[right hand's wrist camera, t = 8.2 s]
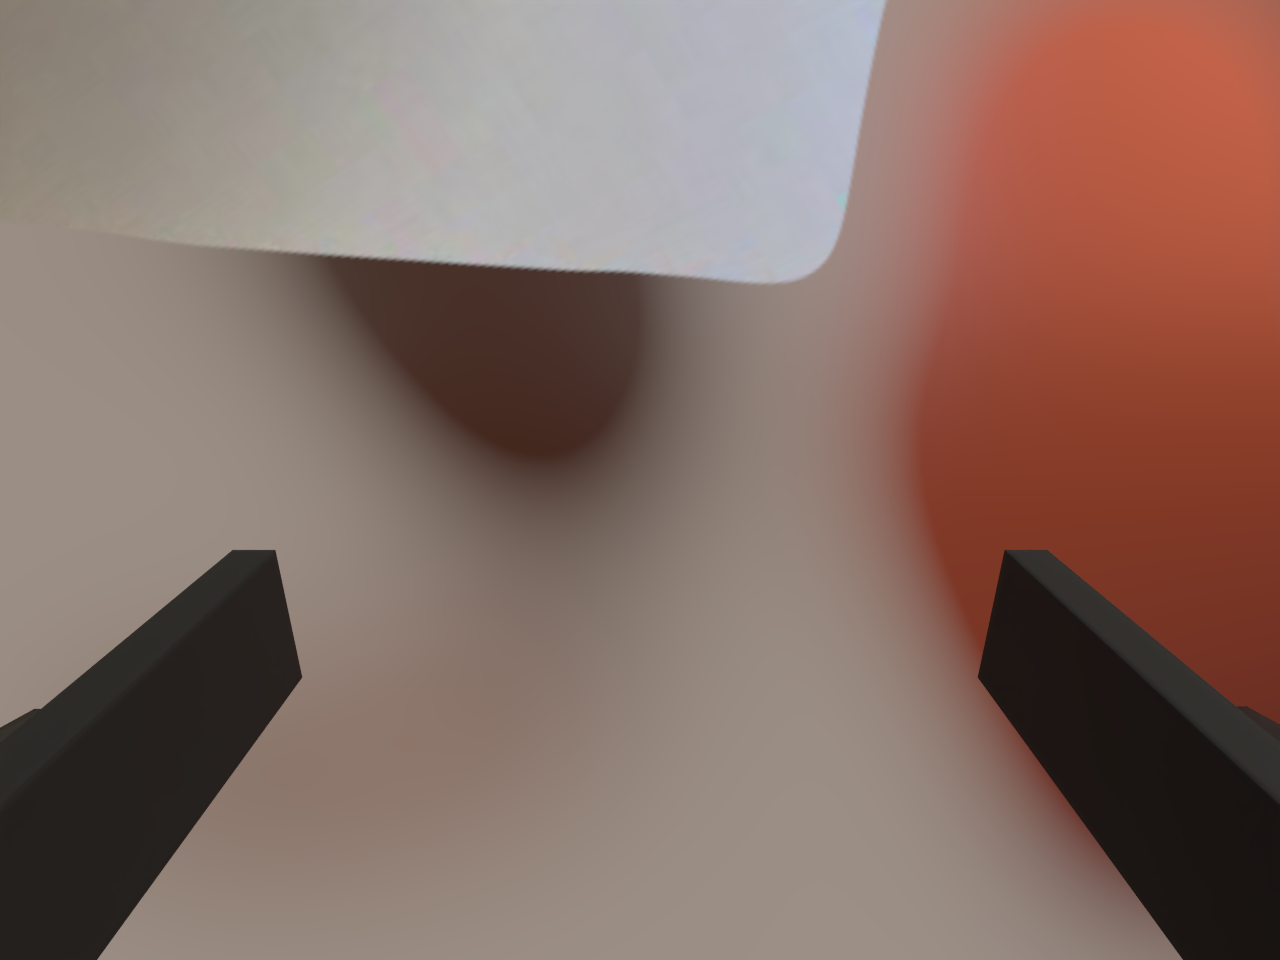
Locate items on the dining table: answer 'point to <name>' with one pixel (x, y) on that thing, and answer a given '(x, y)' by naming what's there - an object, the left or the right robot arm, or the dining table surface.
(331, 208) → the dining table surface
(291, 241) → the dining table surface
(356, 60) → the dining table surface
